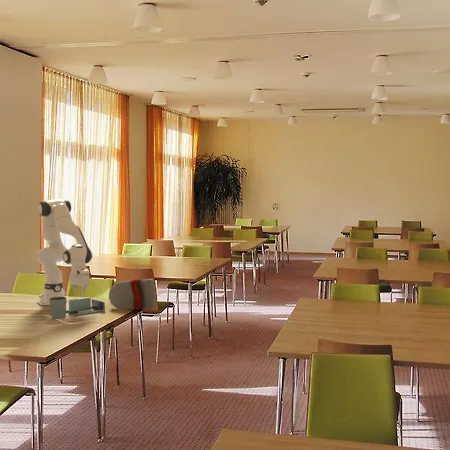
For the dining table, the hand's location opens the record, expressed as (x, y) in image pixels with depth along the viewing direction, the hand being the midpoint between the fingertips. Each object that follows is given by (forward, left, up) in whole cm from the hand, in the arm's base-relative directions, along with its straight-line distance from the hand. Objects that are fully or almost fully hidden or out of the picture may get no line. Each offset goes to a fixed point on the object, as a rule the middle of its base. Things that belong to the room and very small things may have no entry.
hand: (79, 292), depth 415 cm
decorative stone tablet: (+14, +30, -13) cm, 36 cm away
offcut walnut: (+7, 0, -12) cm, 14 cm away
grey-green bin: (+4, -17, -13) cm, 22 cm away
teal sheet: (0, 0, -13) cm, 13 cm away
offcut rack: (+4, +1, -13) cm, 14 cm away
